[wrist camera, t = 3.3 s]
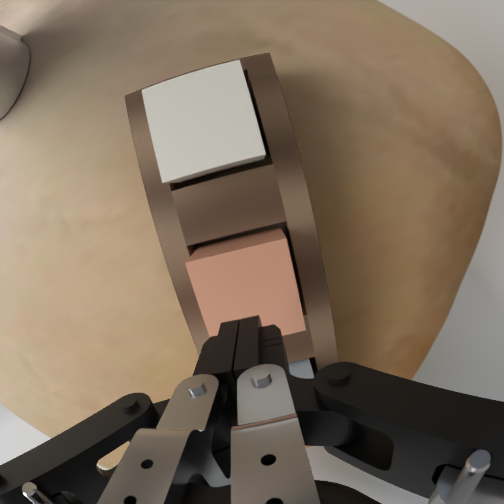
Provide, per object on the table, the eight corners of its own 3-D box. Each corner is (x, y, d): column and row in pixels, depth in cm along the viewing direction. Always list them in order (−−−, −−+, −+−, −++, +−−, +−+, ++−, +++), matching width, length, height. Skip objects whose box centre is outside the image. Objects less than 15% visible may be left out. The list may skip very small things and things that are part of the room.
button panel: (147, 109, 18) (124, 96, 14) (266, 75, 18) (269, 52, 14) (237, 405, 24) (234, 437, 20) (334, 385, 23) (344, 415, 19)
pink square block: (198, 247, 18) (184, 262, 14) (280, 226, 17) (286, 238, 14) (221, 320, 19) (214, 349, 15) (297, 304, 18) (306, 330, 15)
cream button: (162, 105, 16) (141, 89, 12) (242, 82, 15) (239, 59, 12) (180, 182, 17) (162, 182, 13) (263, 159, 16) (265, 154, 13)
